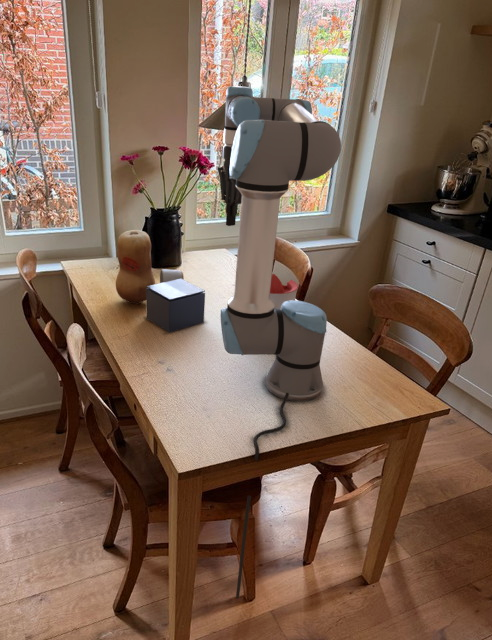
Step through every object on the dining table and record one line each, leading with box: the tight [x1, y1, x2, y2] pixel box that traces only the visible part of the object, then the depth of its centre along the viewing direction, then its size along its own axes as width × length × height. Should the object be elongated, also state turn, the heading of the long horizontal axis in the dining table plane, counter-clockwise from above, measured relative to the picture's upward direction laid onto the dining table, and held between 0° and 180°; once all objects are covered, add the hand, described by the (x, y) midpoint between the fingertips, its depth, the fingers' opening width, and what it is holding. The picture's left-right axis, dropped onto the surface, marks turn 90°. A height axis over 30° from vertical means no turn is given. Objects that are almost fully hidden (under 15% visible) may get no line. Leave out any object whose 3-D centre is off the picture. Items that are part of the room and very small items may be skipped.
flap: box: [165, 279, 206, 296], centre depth 173 cm, size 7×13×1 cm, turn 40°
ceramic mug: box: [159, 268, 185, 283], centre depth 200 cm, size 11×8×8 cm
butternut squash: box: [115, 229, 156, 305], centre depth 182 cm, size 14×13×25 cm
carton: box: [145, 282, 206, 334], centre depth 174 cm, size 14×13×11 cm
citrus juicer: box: [269, 273, 299, 309], centre depth 168 cm, size 16×17×20 cm
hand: (230, 224), depth 170 cm, fingers closed
